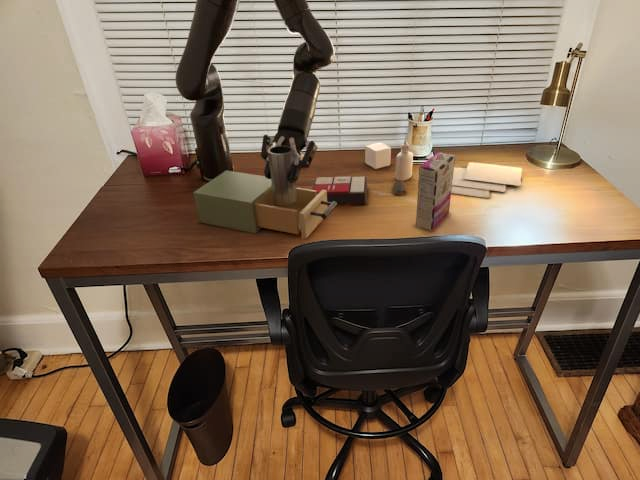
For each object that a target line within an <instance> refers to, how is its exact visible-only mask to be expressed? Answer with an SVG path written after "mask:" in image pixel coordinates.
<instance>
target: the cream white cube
mask: <svg viewBox="0 0 640 480" xmlns="http://www.w3.org/2000/svg"><path fill="white" fill-rule="evenodd" d="M364 147H365V149H364V150H365V151H364V152H365V154H364V157H365V158H364V163H365V164H366V165H368V166H369V167H371V168H372V169H374V170H377V169H381V168H385V167H389V166H391V158H392V157H391V156H392V147H391V146H389V145H387V144H385V143H384V142H381V141H379V142H375V143H371V144H367V145H365V146H364Z"/></svg>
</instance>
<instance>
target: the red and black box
mask: <svg viewBox="0 0 640 480" xmlns="http://www.w3.org/2000/svg"><path fill="white" fill-rule="evenodd" d="M367 179H368V178H367V176H364V175H363V176H352V177H351V176H350V175H349V176H348V175H347V176H334V177H333V176H320V177H319V176H318V177H316V179H315V181H314V184H313V187H312V190H316V191H317V195H318V194H319V193H320V192H321V191H322V190H327V202H333V201H336V202H337V205H338V204H339V205H340V204H341V205H342V204H348V205H349V204H350V205H351V206H365V205H366V204H367V194H368V192H367V191H368V183H367V182H368V181H367Z"/></svg>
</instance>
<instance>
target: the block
mask: <svg viewBox="0 0 640 480" xmlns="http://www.w3.org/2000/svg"><path fill="white" fill-rule="evenodd" d="M392 190H393V191H392V193H393V194H394V195H399V196H400V195H404V194H406V193H407V190H406V186H405V183H404V181H399V180H396V181H395V182H393V189H392Z"/></svg>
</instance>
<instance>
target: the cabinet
mask: <svg viewBox="0 0 640 480" xmlns="http://www.w3.org/2000/svg"><path fill="white" fill-rule="evenodd" d="M270 189H272V182H271V179H267V178H266V177H265V175H259V174H252V173H246V172H240V171H234V172H233V171H227V170H226V171H225V172H223V173H222V174H220V175H219V176H217V177H216V178H214V179H213V180H211V181H210V182H208V181H207V183H205V184H204V185H202V186H201V187H199V188H198V189H197V190H195V191H193V192H192V194H193V197H194V202H195V206H196V210H197V214H198V218H199V221H200V223H202V224H207V225H211V226H217V227H222V228H226V229H232V230H237V231H242V232H247V233H252V234H257V233H259V231H260V230H261V229H262V227H257V226H256V220H255V214H254V208H253V204H254V203H255V202H256V201H257V200H259V199H260V198H261V197H262V196H263V195H265V194H266V193H267V192H268V191H269V190H270Z"/></svg>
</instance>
